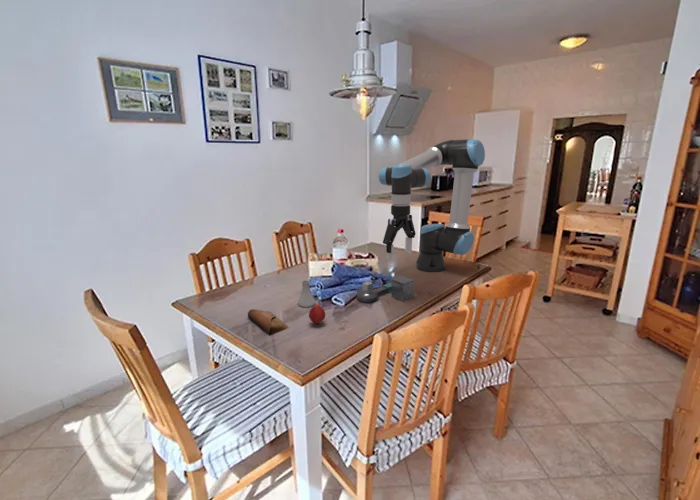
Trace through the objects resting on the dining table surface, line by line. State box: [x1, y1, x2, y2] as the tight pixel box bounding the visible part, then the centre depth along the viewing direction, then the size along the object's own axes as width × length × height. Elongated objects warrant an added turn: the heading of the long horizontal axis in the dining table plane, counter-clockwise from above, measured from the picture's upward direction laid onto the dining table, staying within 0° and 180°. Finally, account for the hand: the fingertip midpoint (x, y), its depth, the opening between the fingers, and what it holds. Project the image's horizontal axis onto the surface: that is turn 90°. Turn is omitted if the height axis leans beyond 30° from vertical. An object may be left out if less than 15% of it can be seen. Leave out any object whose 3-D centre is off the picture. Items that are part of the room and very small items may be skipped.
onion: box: [308, 303, 326, 325], centre depth 129 cm, size 6×6×8 cm
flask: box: [297, 279, 317, 308], centre depth 146 cm, size 7×7×10 cm
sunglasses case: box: [247, 308, 290, 336], centre depth 131 cm, size 18×7×7 cm
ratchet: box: [356, 281, 392, 304], centre depth 155 cm, size 24×9×7 cm, turn 131°
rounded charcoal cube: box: [391, 275, 415, 303], centre depth 151 cm, size 7×7×8 cm
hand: (399, 256), depth 147 cm, fingers open, 13 cm apart
